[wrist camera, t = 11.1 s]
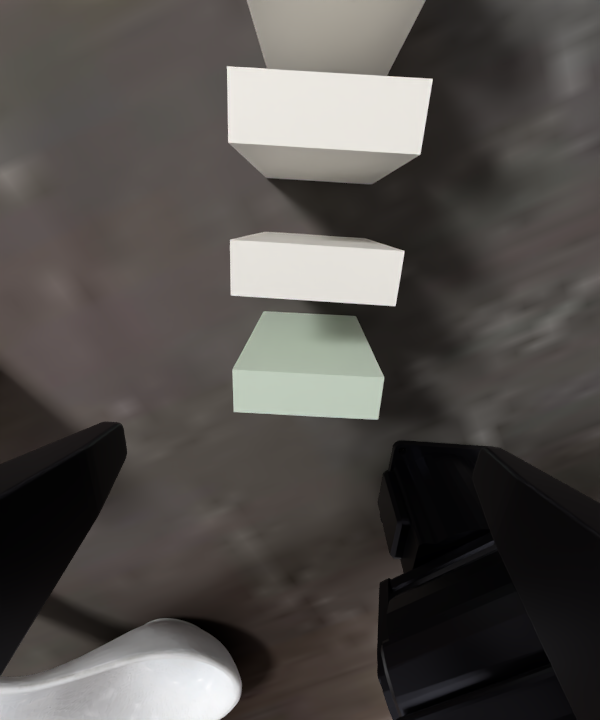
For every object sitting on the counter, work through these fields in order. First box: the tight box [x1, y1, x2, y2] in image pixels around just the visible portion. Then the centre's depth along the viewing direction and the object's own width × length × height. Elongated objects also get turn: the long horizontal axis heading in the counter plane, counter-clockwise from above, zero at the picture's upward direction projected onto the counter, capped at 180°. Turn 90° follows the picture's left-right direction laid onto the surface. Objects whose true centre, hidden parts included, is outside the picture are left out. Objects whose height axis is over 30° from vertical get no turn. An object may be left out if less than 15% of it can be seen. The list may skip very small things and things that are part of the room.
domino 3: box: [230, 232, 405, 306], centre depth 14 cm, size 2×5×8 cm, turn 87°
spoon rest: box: [0, 618, 242, 720], centre depth 26 cm, size 24×12×7 cm, turn 60°
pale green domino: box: [232, 311, 384, 420], centre depth 15 cm, size 2×5×8 cm, turn 88°
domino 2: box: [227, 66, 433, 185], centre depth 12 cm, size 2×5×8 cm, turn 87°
